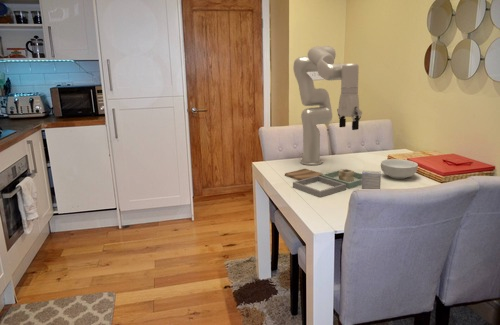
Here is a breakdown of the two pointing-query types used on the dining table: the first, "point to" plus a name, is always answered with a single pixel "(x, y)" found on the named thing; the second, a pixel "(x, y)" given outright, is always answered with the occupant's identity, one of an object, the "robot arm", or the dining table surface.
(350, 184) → the green tray
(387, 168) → the cereal bowl
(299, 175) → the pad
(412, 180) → the dining table surface
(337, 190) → the grey rectangular frame
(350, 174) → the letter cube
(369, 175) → the medicine box
